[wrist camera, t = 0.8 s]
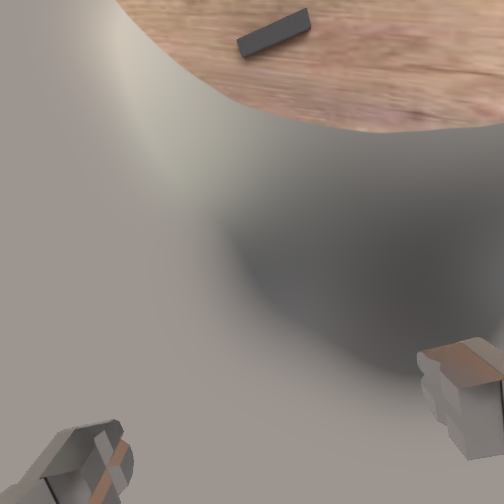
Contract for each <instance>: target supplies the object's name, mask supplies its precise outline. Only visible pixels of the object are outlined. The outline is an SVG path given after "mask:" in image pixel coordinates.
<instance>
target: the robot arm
mask: <svg viewBox="0 0 504 504" xmlns="http://www.w3.org/2000/svg"><path fill="white" fill-rule="evenodd" d="M417 362H418V367H419V368H420V369H421V371H422V372H423V373H424V374H425V375H424V377H423V378H422V380H421V387H422V391H423V395H424V398H425V400H426V403H427V405H428V407H429V409H430V411H431V412H432V414H433V415H434V417H435V418H436V419H437V421H438V422H440V423H443V424H444V425H447V426H448V432H449V437H450V438H451V439H452V441H453V442H454V443H455V445H456V446H457V447H458V448H459V450H460V451H461V452H462V453H463V455H464V456H465V458H466V459H467V460H473V459H479V458H485V457H492V456H498V455H503V454H504V353H503V352H501V351H500V350H498V349H497V348H496V347H494V346H493V345H491V344H490V343H488V342H487V341H485V340H484V339H482V338H478V337H476V338H472V339H469V340H464V341H461V342H457V343H455V344H450V345H447V346H442V347H438V348H433V349H429V350H426V351H421V352H418V353H417ZM123 432H124V431H123V428H122V426H121V424H120V422H119V421H117V420H115V419H113V420H108V421H102V422H97V423H93V424H87V425H83V426H77V427H73V428H68V429H64V430H62V431H60V432H58V433H57V434H56V436H55V437H54V438H53V439H52V441H51V442H50V443H49V444H48V446H47V447H46V448H45V450H44V451H43V452H42V453H41V455H40V456H39V457H38V458H37V460H36V461H35V462H34V464H33V465H32V466H31V467H30V468H29V470H28V471H27V472H26V474H25V475H24V476H23V477H22V479H21V480H20V481H19V482H18V484H14V485H11V486H10V487H8V488H7V489H6V490H4V491H3V492H2V493H1V494H0V504H121V501H120V498H119V495H120V494H121V492H122V491H123V490H124V489H125V488H126V487H127V486H128V484H129V482H130V479H131V477H132V473H133V465H134V460H133V453H132V450H131V447H130V445H129V444H127V443H126V442H125V441H123V440H122V439H121V438H122V435H123Z"/></svg>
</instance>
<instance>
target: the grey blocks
mask: <svg viewBox="0 0 504 504" xmlns="http://www.w3.org/2000/svg"><path fill="white" fill-rule="evenodd" d="M310 29H311V25H310V20H309V16H308V12H307V8H305V9H303V10H300V11H298V12H296V13H294V14H292V15H290V16H287V17H285V18H283V19H281V20H279V21H276V22H274V23H272V24H270V25H268V26H265V27H263V28H261V29H259V30H257V31H254V32H252V33H250V34H248V35H246V36H244V37H241V38H239V39H237V44H238V47H239V50H240V53H241V56H242V57H243V58H246V57H249V56H251V55H253V54H256V53H258V52H260V51H263V50H265V49H267V48H269V47H272V46H274V45H276V44H279V43H281V42H283V41H286V40H288V39H290V38H292V37H295V36H297V35H299V34H302V33H304V32H306V31H308V30H310Z"/></svg>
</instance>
